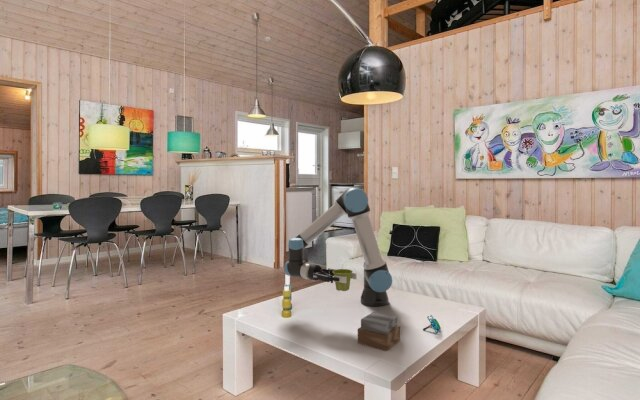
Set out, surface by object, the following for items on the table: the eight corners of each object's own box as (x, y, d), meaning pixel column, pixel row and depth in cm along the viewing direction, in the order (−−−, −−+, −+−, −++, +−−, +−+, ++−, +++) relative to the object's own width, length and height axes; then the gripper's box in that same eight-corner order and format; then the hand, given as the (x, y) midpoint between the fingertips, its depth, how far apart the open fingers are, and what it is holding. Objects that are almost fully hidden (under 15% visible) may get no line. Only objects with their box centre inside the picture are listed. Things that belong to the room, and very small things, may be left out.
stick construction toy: (439, 331, 170) (430, 314, 174) (425, 338, 172) (416, 321, 176) (445, 330, 180) (436, 314, 184) (431, 337, 182) (423, 321, 186)
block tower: (372, 333, 174) (372, 310, 174) (400, 340, 167) (400, 316, 166) (357, 343, 164) (357, 319, 163) (386, 351, 156) (386, 326, 156)
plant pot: (339, 293, 180) (338, 274, 179) (328, 288, 188) (328, 270, 188) (356, 290, 184) (356, 272, 184) (345, 285, 193) (345, 268, 192)
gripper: (323, 275, 205) (362, 281, 192) (298, 284, 188) (338, 291, 175) (323, 260, 205) (362, 265, 192) (298, 268, 187) (338, 274, 174)
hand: (351, 278), depth 183 cm, fingers closed on plant pot, 8 cm apart
